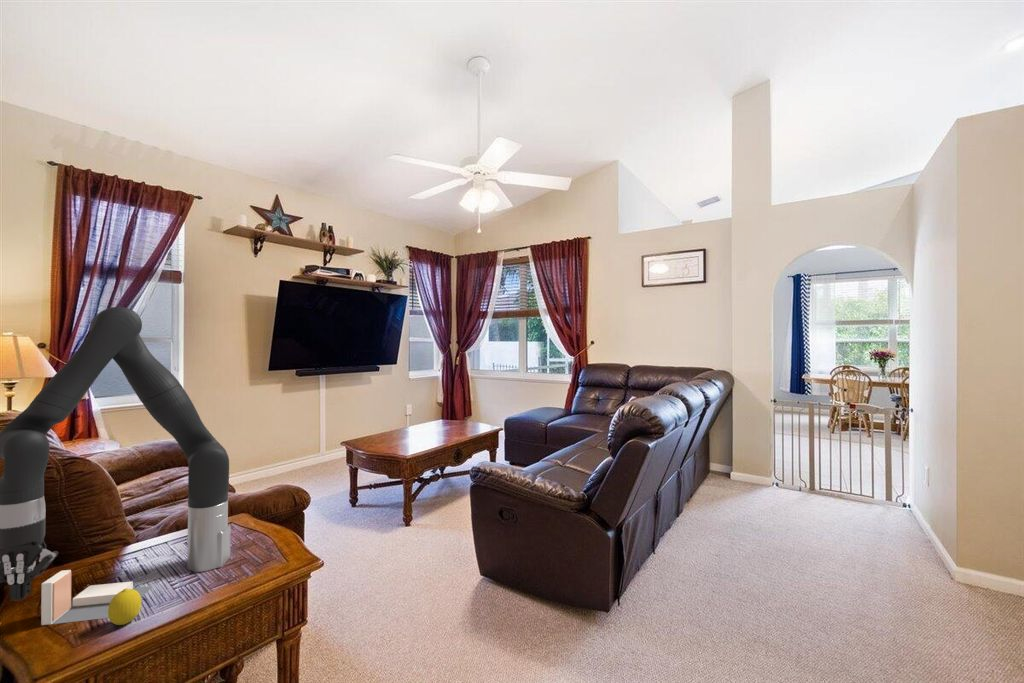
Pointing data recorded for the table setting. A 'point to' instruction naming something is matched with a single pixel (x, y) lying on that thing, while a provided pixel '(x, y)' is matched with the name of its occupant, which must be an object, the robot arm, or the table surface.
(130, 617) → the lemon
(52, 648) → the table surface
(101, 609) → the slate mat
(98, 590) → the white flat block
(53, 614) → the pink flat piece
